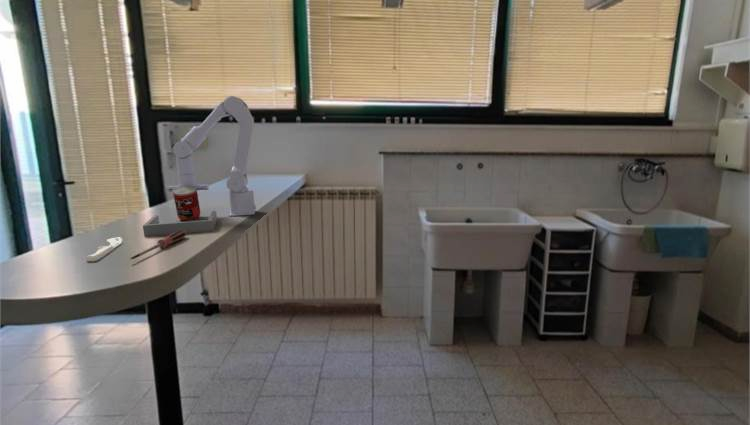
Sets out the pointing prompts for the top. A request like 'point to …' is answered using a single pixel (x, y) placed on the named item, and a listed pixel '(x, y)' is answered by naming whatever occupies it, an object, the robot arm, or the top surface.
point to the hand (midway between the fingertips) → (190, 209)
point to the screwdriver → (165, 242)
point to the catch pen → (178, 226)
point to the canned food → (186, 202)
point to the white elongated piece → (105, 249)
